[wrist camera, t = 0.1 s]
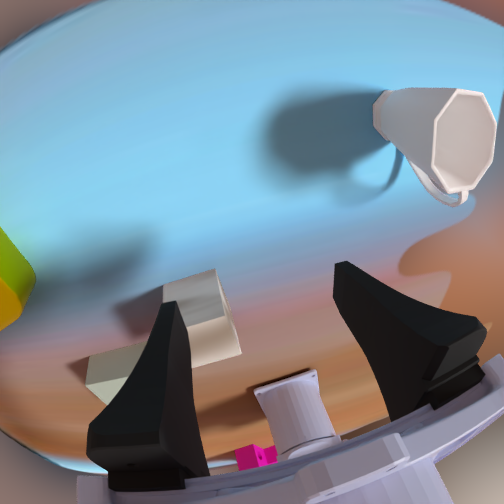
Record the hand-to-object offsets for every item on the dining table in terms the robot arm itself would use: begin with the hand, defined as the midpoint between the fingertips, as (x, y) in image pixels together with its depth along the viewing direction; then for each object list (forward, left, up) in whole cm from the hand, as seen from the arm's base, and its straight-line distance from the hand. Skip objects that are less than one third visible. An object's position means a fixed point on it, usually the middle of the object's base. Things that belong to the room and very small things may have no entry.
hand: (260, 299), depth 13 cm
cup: (+2, -15, -10) cm, 18 cm away
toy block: (-51, +7, -11) cm, 53 cm away
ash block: (-7, +5, -10) cm, 13 cm away
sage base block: (-14, +15, -10) cm, 23 cm away
